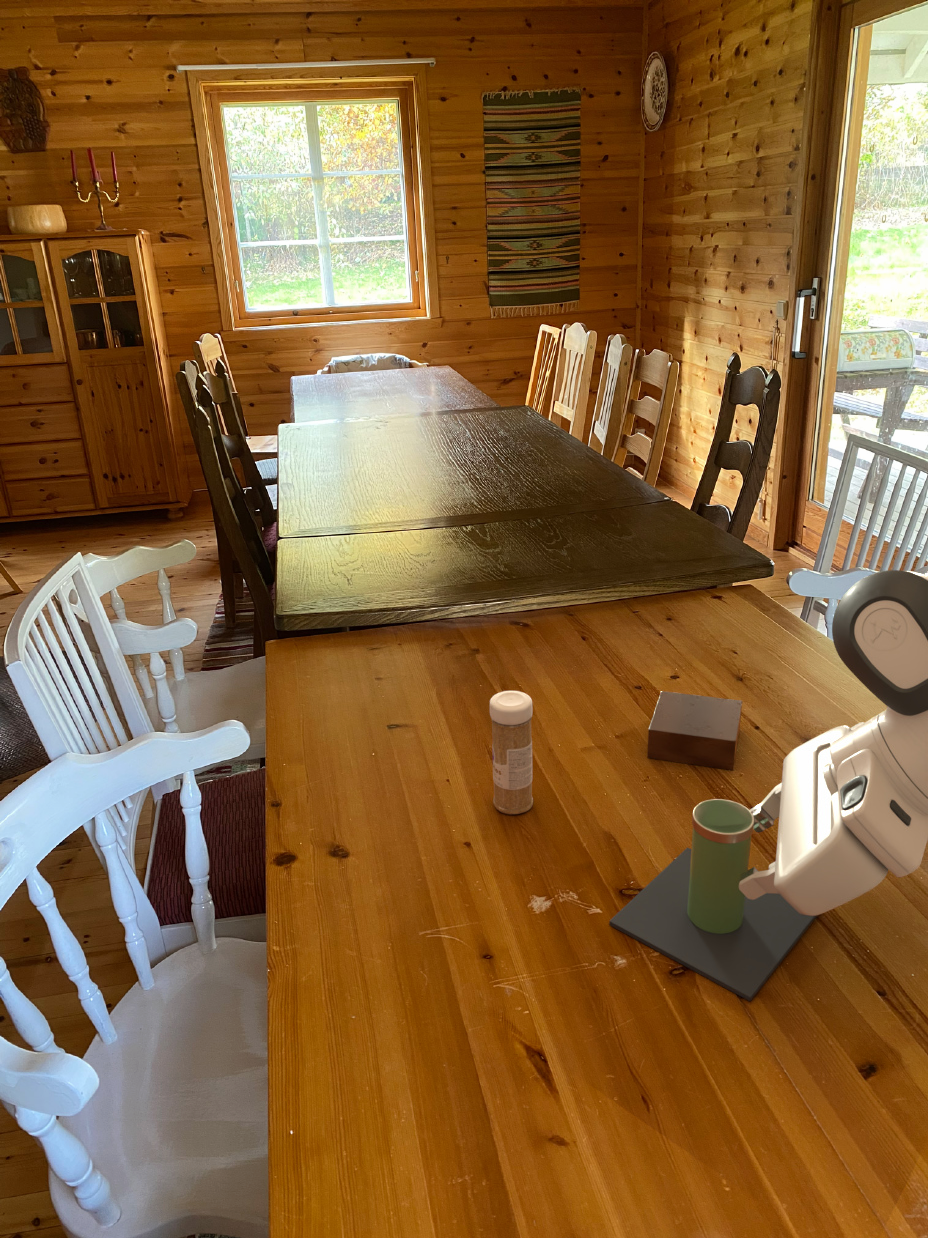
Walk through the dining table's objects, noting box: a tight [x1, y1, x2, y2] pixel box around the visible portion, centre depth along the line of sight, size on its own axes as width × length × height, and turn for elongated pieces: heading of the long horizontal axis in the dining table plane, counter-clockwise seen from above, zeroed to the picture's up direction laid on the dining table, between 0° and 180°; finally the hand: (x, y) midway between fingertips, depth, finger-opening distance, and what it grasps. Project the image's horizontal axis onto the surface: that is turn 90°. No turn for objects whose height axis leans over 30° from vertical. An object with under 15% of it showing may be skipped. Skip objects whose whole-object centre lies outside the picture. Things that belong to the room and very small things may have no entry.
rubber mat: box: [608, 847, 819, 1002], centre depth 85 cm, size 14×14×1 cm
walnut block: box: [646, 690, 743, 771], centre depth 112 cm, size 10×10×4 cm
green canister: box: [687, 798, 754, 934], centre depth 82 cm, size 5×5×11 cm
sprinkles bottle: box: [489, 690, 534, 815], centre depth 100 cm, size 5×5×13 cm
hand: (748, 854), depth 81 cm, fingers open, 8 cm apart
